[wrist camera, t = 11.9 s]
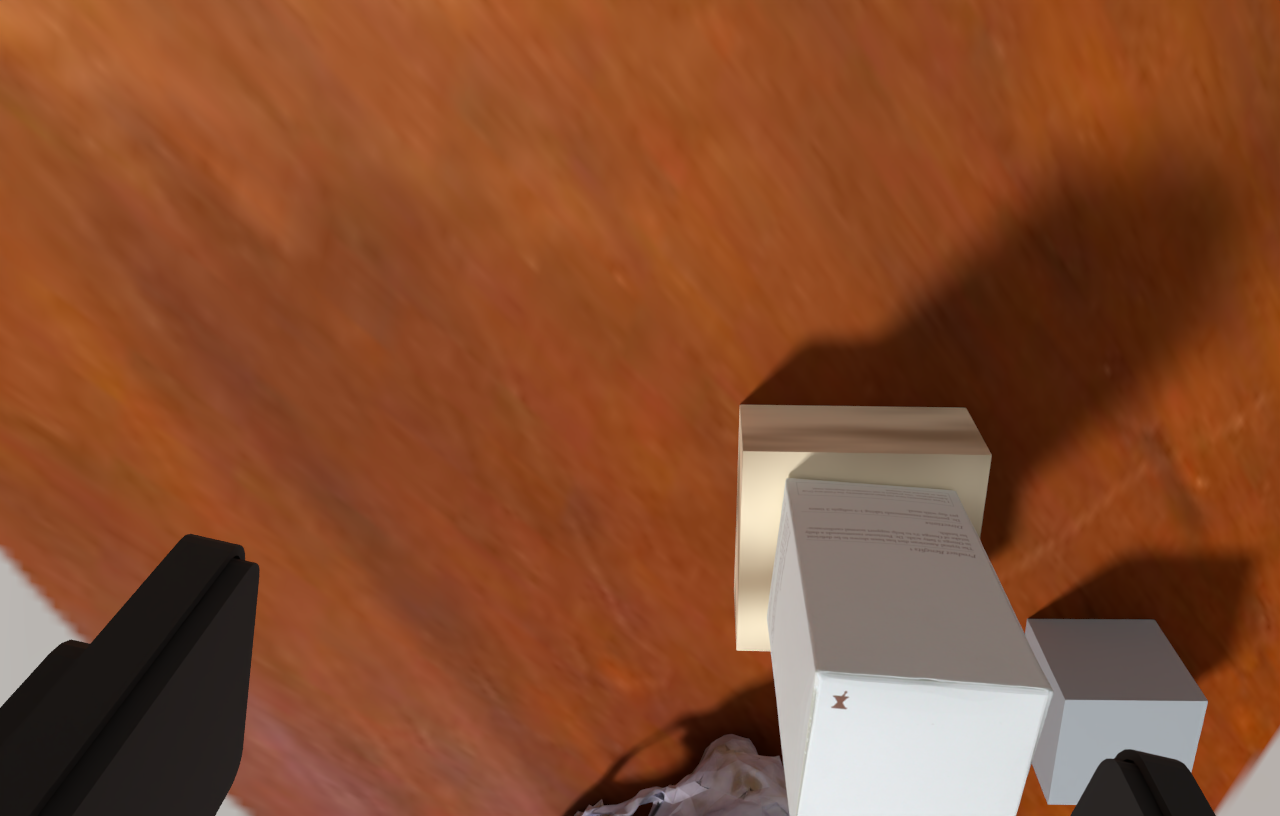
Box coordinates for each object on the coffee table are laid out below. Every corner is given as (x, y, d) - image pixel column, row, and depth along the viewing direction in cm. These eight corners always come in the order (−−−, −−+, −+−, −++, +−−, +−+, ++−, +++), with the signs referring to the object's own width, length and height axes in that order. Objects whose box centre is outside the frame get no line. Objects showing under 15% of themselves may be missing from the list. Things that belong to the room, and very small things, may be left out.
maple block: (739, 401, 47) (743, 451, 43) (964, 404, 47) (991, 454, 42) (733, 586, 52) (736, 650, 47) (940, 591, 51) (963, 656, 46)
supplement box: (762, 619, 46) (782, 847, 35) (784, 471, 43) (814, 667, 32) (930, 635, 46) (1006, 868, 35) (964, 487, 43) (1059, 690, 32)
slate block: (1026, 617, 51) (1065, 699, 46) (1153, 618, 51) (1208, 701, 45) (1012, 715, 53) (1047, 804, 48) (1134, 716, 53) (1183, 806, 48)
